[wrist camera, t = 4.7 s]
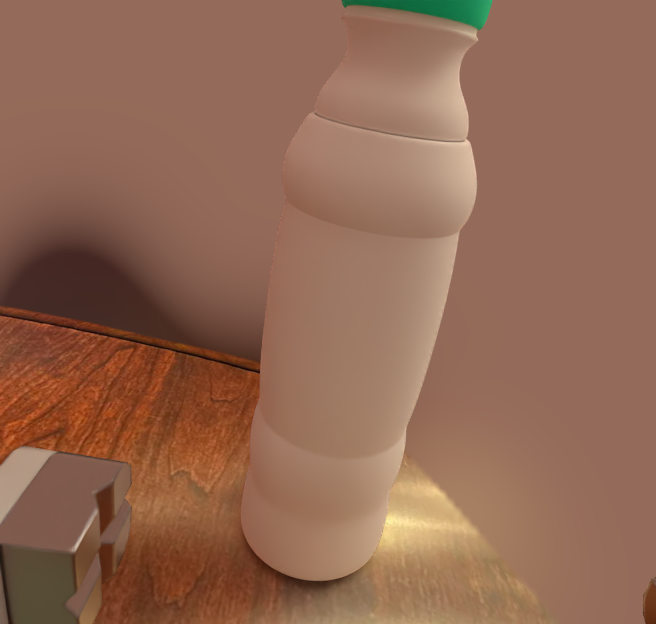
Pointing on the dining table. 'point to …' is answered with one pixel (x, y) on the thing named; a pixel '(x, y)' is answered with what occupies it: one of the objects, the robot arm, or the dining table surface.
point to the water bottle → (359, 283)
